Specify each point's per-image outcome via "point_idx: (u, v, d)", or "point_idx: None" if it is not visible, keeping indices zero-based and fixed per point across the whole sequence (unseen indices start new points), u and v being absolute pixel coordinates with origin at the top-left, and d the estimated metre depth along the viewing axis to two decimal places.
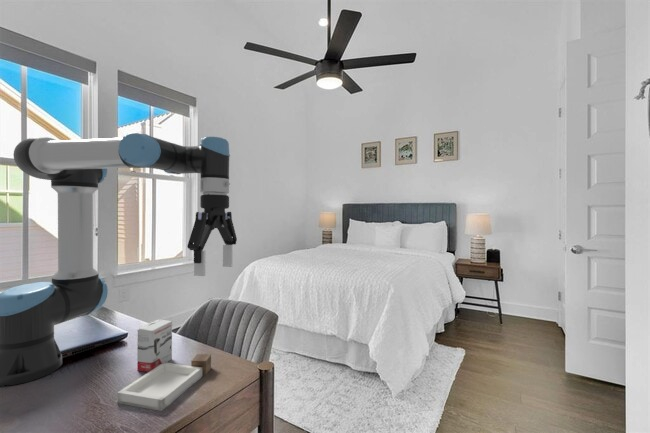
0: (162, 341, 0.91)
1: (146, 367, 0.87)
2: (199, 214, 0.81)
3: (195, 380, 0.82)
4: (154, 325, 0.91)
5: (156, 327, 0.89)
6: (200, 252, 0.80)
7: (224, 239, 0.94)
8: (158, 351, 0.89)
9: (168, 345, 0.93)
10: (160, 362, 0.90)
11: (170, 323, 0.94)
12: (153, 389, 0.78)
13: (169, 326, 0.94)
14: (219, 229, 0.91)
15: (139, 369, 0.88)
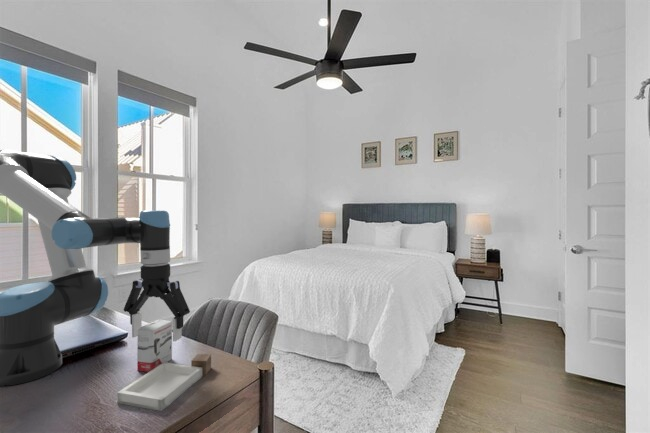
0: (162, 341, 0.91)
1: (146, 367, 0.87)
2: None
3: (195, 380, 0.82)
4: (154, 325, 0.91)
5: (156, 327, 0.89)
6: None
7: None
8: (158, 351, 0.89)
9: (168, 345, 0.93)
10: (160, 362, 0.90)
11: (170, 323, 0.94)
12: (153, 389, 0.78)
13: (169, 326, 0.94)
14: None
15: (139, 369, 0.88)
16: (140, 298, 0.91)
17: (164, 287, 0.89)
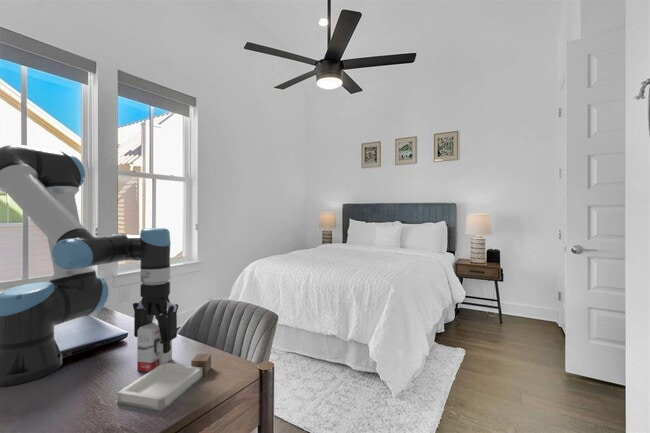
0: None
1: (146, 367, 0.87)
2: None
3: (195, 380, 0.82)
4: (154, 325, 0.91)
5: (156, 327, 0.89)
6: None
7: None
8: (158, 351, 0.89)
9: None
10: None
11: None
12: (153, 389, 0.78)
13: None
14: None
15: (139, 369, 0.88)
16: (145, 319, 0.91)
17: (163, 306, 0.89)
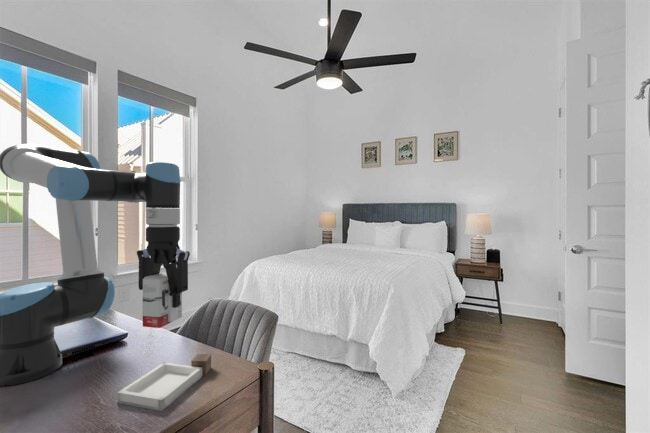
0: None
1: (152, 322, 0.75)
2: None
3: (195, 380, 0.82)
4: (162, 275, 0.78)
5: (164, 277, 0.77)
6: None
7: None
8: (166, 305, 0.77)
9: None
10: None
11: None
12: (153, 389, 0.78)
13: None
14: None
15: (145, 325, 0.75)
16: (151, 269, 0.78)
17: (172, 253, 0.77)
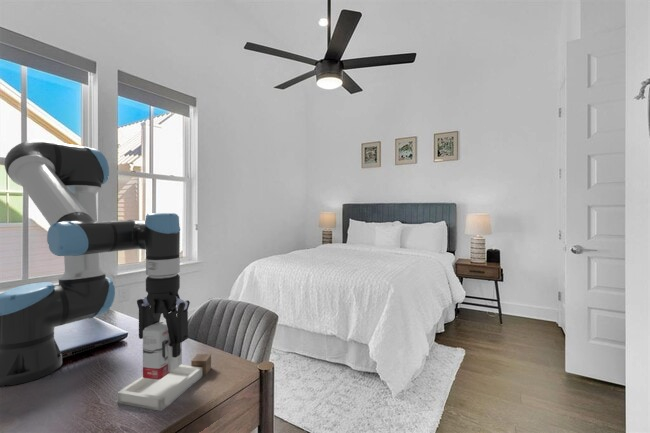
0: None
1: (152, 373, 0.75)
2: None
3: (195, 380, 0.82)
4: (162, 325, 0.78)
5: (164, 327, 0.77)
6: None
7: None
8: (166, 355, 0.77)
9: None
10: None
11: None
12: (153, 389, 0.78)
13: None
14: None
15: (145, 376, 0.75)
16: (151, 318, 0.78)
17: (172, 303, 0.77)
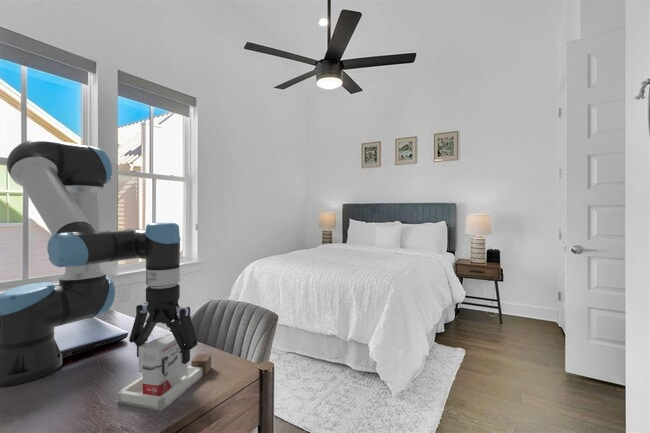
0: (171, 360, 0.78)
1: (152, 390, 0.75)
2: None
3: (195, 380, 0.82)
4: (162, 341, 0.78)
5: (164, 343, 0.77)
6: (139, 347, 0.80)
7: None
8: (166, 372, 0.77)
9: None
10: (169, 384, 0.78)
11: None
12: None
13: None
14: None
15: (144, 392, 0.75)
16: (146, 326, 0.79)
17: (172, 313, 0.77)
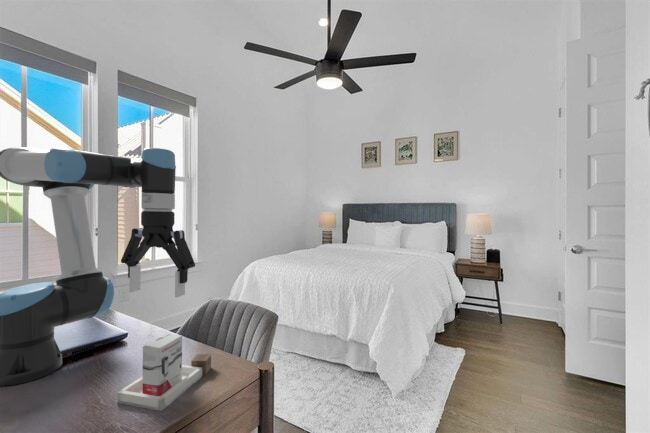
0: (171, 360, 0.78)
1: (152, 390, 0.75)
2: None
3: (195, 380, 0.82)
4: (162, 341, 0.78)
5: (164, 343, 0.77)
6: None
7: None
8: (166, 372, 0.77)
9: (178, 363, 0.81)
10: (169, 384, 0.78)
11: (180, 338, 0.82)
12: None
13: (179, 341, 0.81)
14: None
15: (144, 392, 0.75)
16: (140, 248, 0.81)
17: (167, 236, 0.79)
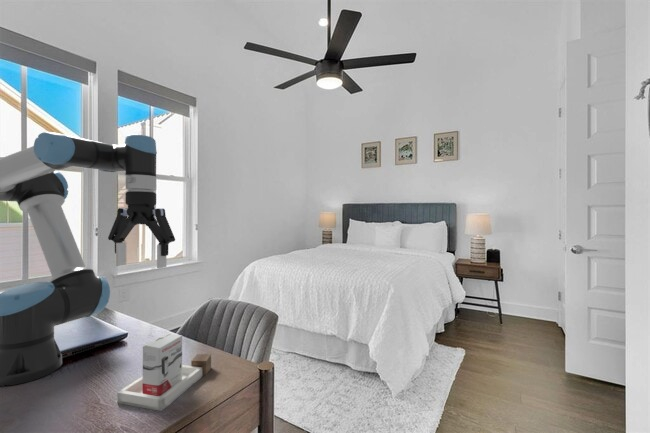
0: (171, 360, 0.78)
1: (152, 390, 0.75)
2: None
3: (195, 380, 0.82)
4: (162, 341, 0.78)
5: (164, 343, 0.77)
6: None
7: None
8: (166, 372, 0.77)
9: (178, 363, 0.81)
10: (169, 384, 0.78)
11: (180, 338, 0.82)
12: None
13: (179, 341, 0.81)
14: None
15: (144, 392, 0.75)
16: (125, 225, 0.89)
17: (149, 213, 0.88)
